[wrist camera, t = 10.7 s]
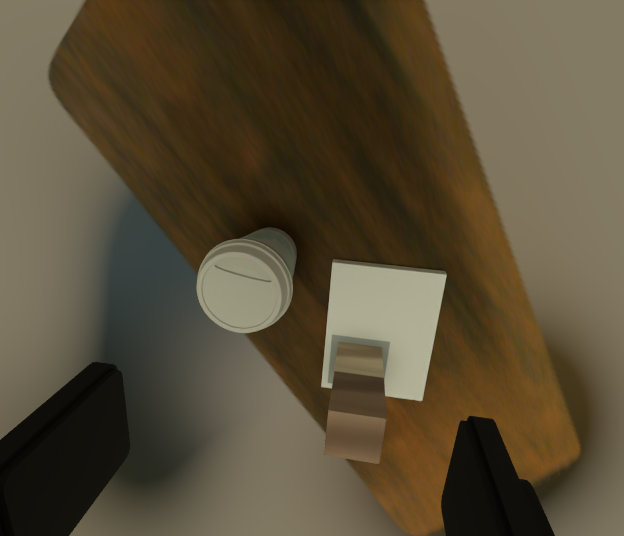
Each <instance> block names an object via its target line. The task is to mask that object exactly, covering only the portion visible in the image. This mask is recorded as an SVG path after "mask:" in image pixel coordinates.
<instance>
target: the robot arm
mask: <svg viewBox="0 0 624 536" xmlns="http://www.w3.org/2000/svg"><path fill="white" fill-rule="evenodd" d="M129 450H130V439H129V431H128V422H127V413H126V404H125V395H124V386H123V378H122V373H121V371H118V369H117V367H116V366H115V365H113V364H107V363H100V362H93V363H92V364H90V365H89V366H87V367H86V368H85V369H84V370H83V371H81V372H80V373H79V374H78V375H77V376H75V378H73V379H72V380H71V381H69V382H68V383H67V384H66V385H65V386H64V387H62V388H61V389H60V390H59V391H58V392H56V393H55V394H54V395H53V396H52V397H51V398H49V399H48V400H47V401H46V402H45V403H43V404H42V405H41V406H40V407H39V408H38V409H36V410H35V411H34V412H33V413H32V414H30V415H29V416H28V417H27V418H26V419H25V420H23V421H22V422H21V423H20V424H19V425H17V426H16V427H15V428H14V429H13V430H12V431H10V432H9V433H8V434H7V435H6V436H4V437H3V438H2V439H1V440H0V536H69V535H70V534H71V532H72V531H73V530H74V528H75V527H76V526H77V524H78V523H79V521H80V520H81V519H82V517H83V516H84V514H85V513H86V512H87V511H88V509H89V508H90V507H91V505H92V504H93V502H94V501H95V500H96V498H97V497H98V496H99V494H100V493H101V492H102V490H103V489H104V487H105V486H106V485H107V484H108V482H109V480H110V479H111V478H112V477H113V475H114V474H115V473H116V471H117V470H118V469H119V467H120V466H121V465H122V463H123V462H124V461H125V459H126V457H127V455H128V453H129ZM441 509H442V516H443V522H444V527H445V532H446V536H555V535H554V533H553V531H552V528H551V526H550V524H549V522H548V519H547V517H546V515H545V513H544V510H543V508H542V506H541V504H540V502H539V500H538V497H537V495H536V493H535V490H534V488H533V487H532V485H531V483H530V482H528V481H527V480H523V479H519V478H518V475H517V473H516V471H515V468H514V466H513V464H512V461H511V459H510V456H509V454H508V452H507V449H506V447H505V445H504V442H503V440H502V437H501V435H500V433H499V430H498V428H497V426H496V423H495V421H494V420H493V419H489V418H482V417H475V416H469V417H468V419H467V421H460V424H459V427H458V432H457V436H456V440H455V444H454V448H453V452H452V457H451V461H450V465H449V469H448V473H447V478H446V482H445V486H444V490H443V494H442V501H441Z"/></svg>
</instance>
